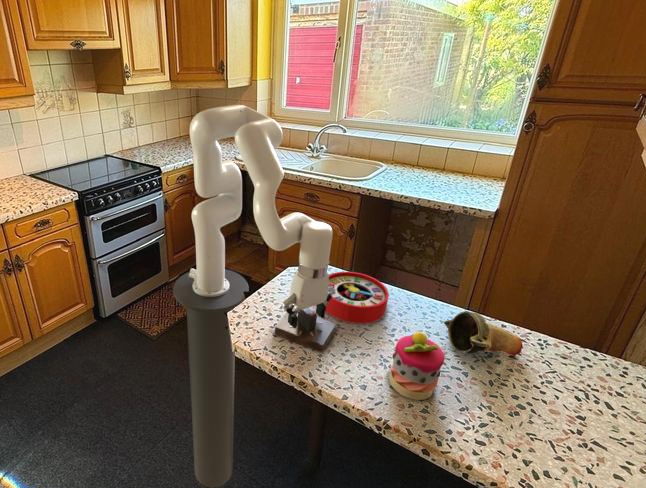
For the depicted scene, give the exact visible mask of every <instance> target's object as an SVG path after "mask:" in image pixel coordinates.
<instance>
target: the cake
mask: <svg viewBox="0 0 646 488" xmlns="http://www.w3.org/2000/svg"><path fill="white" fill-rule="evenodd" d="M392 360H393V361H392V362H393V363H392V364H393V365H392V366H391V367H390V368H389V370H390V372H389V375H388V376H389V384H390V385H391V387H392V388H393V389H394V390H395V391H396V392H397V393H399V394H400V395H401V396H403V397H405V398H408V399H412V400H415V401H423V400H426V399H429V398H430V397H432V395H433V392H434V389H436V388H437V386H438V383H439V378H440V376H441V368H442V367H443V365H444V364H445V360H446V356H445V353H444V351H443V349H442V347H440V346H439V345H438V344H437V343H435V342H434V341H433V340H431V339H428V337H427V335H426V333H424V332H423V331H416V332H415V333H413V335H405V336H403V337H400V338H399V339H398V340H397V342H396V346H395V349H394V352H393V354H392Z"/></svg>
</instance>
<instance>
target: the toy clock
mask: <svg viewBox="0 0 646 488" xmlns="http://www.w3.org/2000/svg"><path fill="white" fill-rule="evenodd" d="M328 275H329V286H331V287H333V288H334V289H335V292H334V293H333V295H332V298H331V299H330V301H329V302H328V303H329V304H328V306H326V311H325V313H327V314H328V315H330V316H332V317H333V318H336V319H338V320H340V321H343V322H346V323H352V324H360V325H361V324H363V325H364V324H365V325H366V324H372V323H375V322H377V321H380V320H381V319H382V318H383V317H384V315H385V314H386V310H387V306H388V301H389V297H390V295H389V294H390V293H389V290H388V288H387V286H385V284H384V283H382V282H381V281H380V280H379V279H377V278H375V277H372V276H371V275H368V274H364V273H361V272H357V271H356V272H355V271H337V272H333V273H330V274H328Z"/></svg>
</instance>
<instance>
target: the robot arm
mask: <svg viewBox="0 0 646 488" xmlns="http://www.w3.org/2000/svg"><path fill="white" fill-rule="evenodd" d="M229 138H234V142H235V146H236V148H237V150H238V153H239V155H240V157H241V160H242V162H243V164H244V166H245V168H246V171H247V174H248V175H249V177H250V179H251V181H252V184H253V188H254V192H253V199H252V200H253V201H252V202H253V203H252V208H253V209H252V210H253V217H254V222H255V224H256V226H257V229H258V230H259V233H260V236H261V238H262V239H263V240H264V242H265V244H266V245H267V246H268V247H269V248H270V249H272V250H274V251H278V252H281V251H285V250H286V249H289V248H290V247H292V246H293V245H295V244H297V243H300V245H299V255H298V266H297V270H296V271H295V272H294V274H293V277H292V280H291V285H290V290H289V294H288V295H289V296H288V298H286V299H285V300H284V301H282V302H281V307H282V308H283V310H284V311H285V313H289V314H288V323H289V324H290V325H291V326H292V327H293V328H296V327H297V319H298V316H297V314H298V312H299V311H300V310H302V309H306V308H311V307H315V313H316V314H317V316H318V317H320V318H323V319H325V316H326V306H328V304H329V303H328V302H329V301H330V299H331V298H332V295H333V293H334V292H335V289H334V288H333V287H331V286H329V275H330V274H329V271H328V269H329V265H330V264H331V261H330V256H331V255H330V254H331V248H332V240H333V236H334V235H333V233H334V231H333V228H332V226H331V225H329V224H327V223H326V222H323V221H316V220H315V219H313V218H312V217H309V216H307V215H306V214H304V213H301V212H295V211H294V212H292V213H289V214H286V215H285V216H283V217H281V218H280V216H279V215H278V211H277V208H276V194H277V191H278V189H279V187H280V185H281V183H282V181H283V179H284V177H285V172H284V169H283V167H282V164H281V162H280V161H279V158H278V156H277V153H276V151H275V149H278V147H280V146H281V144H282V142H283V139H284V133H283V130H282V127H281V126H280V124H279V123H278V122H277V121H276V120H274V119H273V118H272V117H270V116H268V115H266V114H263V113H262V112H259V111H257V110H255V109H253V108H251V107H249V106H246V105H243V104H231V105H226V106H217V107H212V108H208V109H204V110H201V111H200V112H198V113H197V114H195V115H194V116H193V118H192V120H191V121H190V124H189V139H190V143H191V144H190V145H191V148H192V155H193V157H192V159H193V160H192V161H193V179H194V180H193V181H194V187H195V191H196V193H197V195H198V196H199V197H201V198H204V199H206V200H203V201H201V202H199V203H198V204H196V205H195V206H194V207H193V209H192V211H191V221H192V222H191V223H192V227H193V230H194V238H195V259H196V260H195V262H196V263H195V265H196V269H195V268H192V267H191V268H190V270H189V272H190V274H189V277H191V278H194V282H193V290H194V292H196V293H197V294H199V295H201V296H204V297H217V296H220V295H223V294H225V293H226V292H227V291H228V290H229V282H228V280H227V279H225V269H226V240H225V237H224V235H223V233H222V231H221V228H222V227H225V226H226V225H229V224H230V223H233V222H234V221H236V220H238V219H239V218H240V216H241V214H242V210H243V177H242V172H241V170H240V168H239V166H238V165H237V164H236V163H235V162H233V161H232V160H223V152H222V148H221V145H220V144H219V142H218V141H219V140H224V139H229ZM293 308H295V310H294V311H293V310H292V309H293Z"/></svg>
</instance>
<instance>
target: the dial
mask: <svg viewBox="0 0 646 488" xmlns="http://www.w3.org/2000/svg"><path fill="white" fill-rule="evenodd" d="M317 317H318V315H317V314H316V311H313V310H312V309H311V307H309V308H306V309H302V310H300V311H299V312H298V319H297V321H298V322H299V323H300V324H301V325H303V326H304V327H305V328H306V329H307V330H308V331H312V330H314V329H315V328H316V320H317Z"/></svg>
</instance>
